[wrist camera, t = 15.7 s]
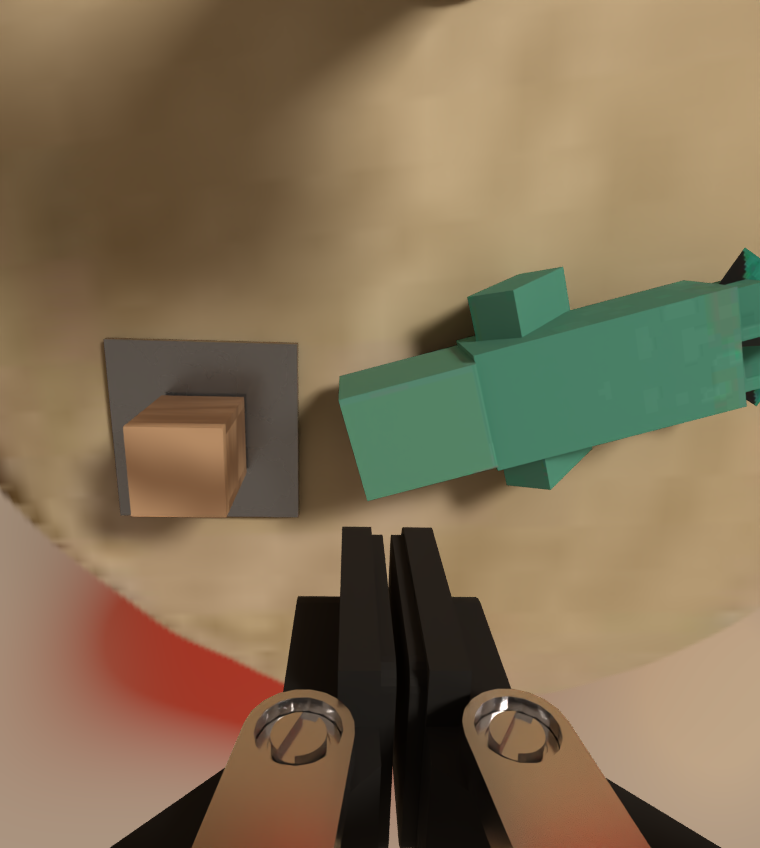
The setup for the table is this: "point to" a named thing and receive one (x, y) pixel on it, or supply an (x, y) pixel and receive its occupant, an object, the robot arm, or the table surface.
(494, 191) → the table surface
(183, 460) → the tan cardboard carton
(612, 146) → the table surface
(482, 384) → the toy
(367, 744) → the robot arm
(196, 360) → the grey base plate
